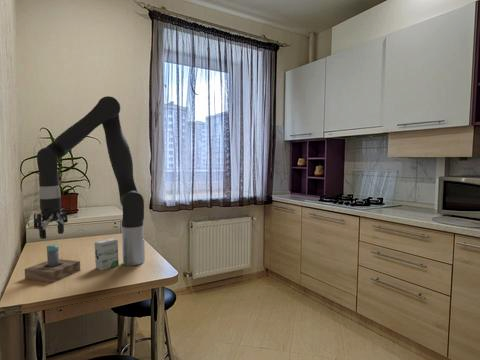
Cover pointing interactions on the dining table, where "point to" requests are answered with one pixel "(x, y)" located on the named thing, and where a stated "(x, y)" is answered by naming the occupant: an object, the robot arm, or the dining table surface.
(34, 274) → the socket
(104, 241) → the ink box
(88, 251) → the dining table surface
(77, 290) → the dining table surface
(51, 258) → the peg
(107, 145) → the robot arm
